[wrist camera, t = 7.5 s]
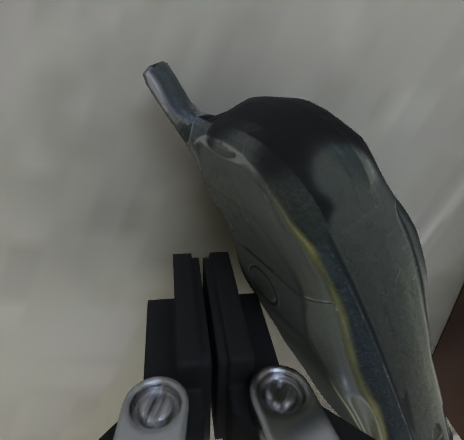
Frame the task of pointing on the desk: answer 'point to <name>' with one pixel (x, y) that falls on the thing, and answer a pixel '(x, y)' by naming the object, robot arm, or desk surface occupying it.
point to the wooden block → (452, 367)
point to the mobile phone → (322, 252)
